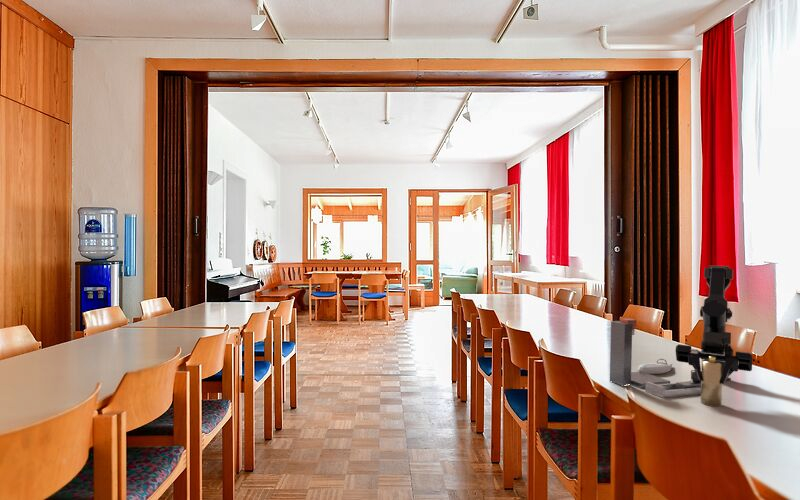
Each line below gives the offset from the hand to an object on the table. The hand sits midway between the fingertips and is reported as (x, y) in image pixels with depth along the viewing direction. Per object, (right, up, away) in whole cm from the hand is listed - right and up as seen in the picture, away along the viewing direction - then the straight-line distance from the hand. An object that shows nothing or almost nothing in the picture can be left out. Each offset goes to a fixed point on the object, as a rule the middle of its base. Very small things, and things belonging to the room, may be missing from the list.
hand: (711, 381), depth 135 cm
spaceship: (+4, -6, +37) cm, 38 cm away
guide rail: (-2, -6, +12) cm, 14 cm away
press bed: (-11, -6, +22) cm, 25 cm away
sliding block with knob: (+2, -6, +13) cm, 15 cm away
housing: (+1, -7, +1) cm, 7 cm away
